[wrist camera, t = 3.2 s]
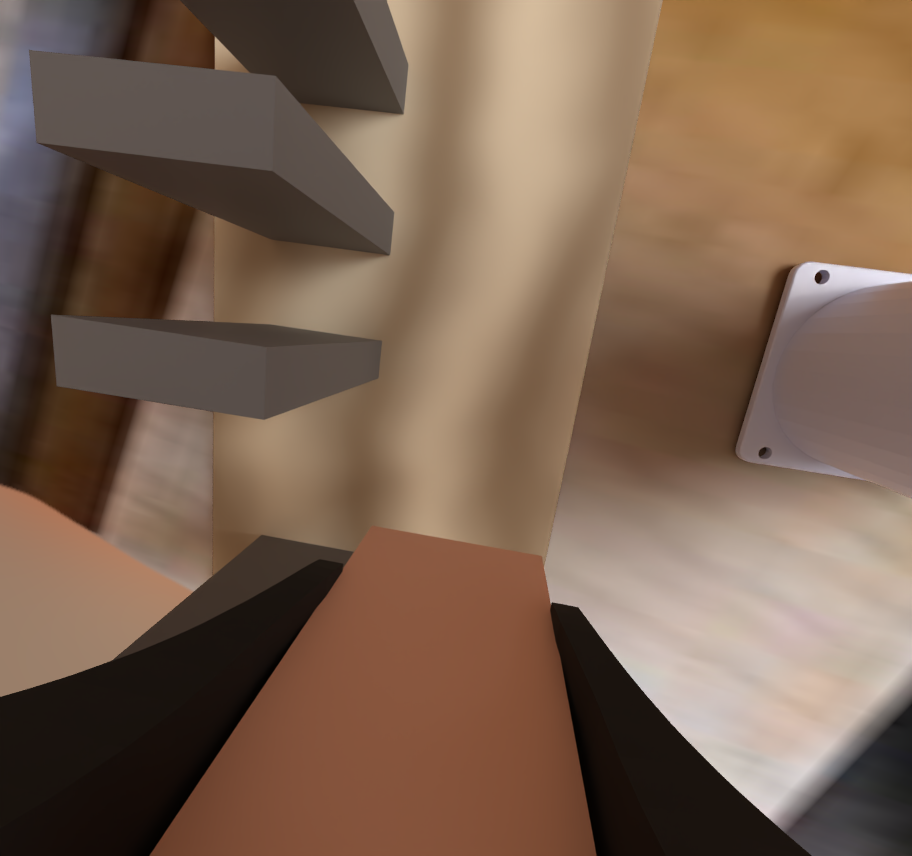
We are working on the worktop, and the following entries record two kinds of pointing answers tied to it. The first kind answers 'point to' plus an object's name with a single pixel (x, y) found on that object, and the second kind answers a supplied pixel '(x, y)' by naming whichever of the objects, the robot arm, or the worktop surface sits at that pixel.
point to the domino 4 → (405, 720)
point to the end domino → (238, 584)
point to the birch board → (446, 284)
